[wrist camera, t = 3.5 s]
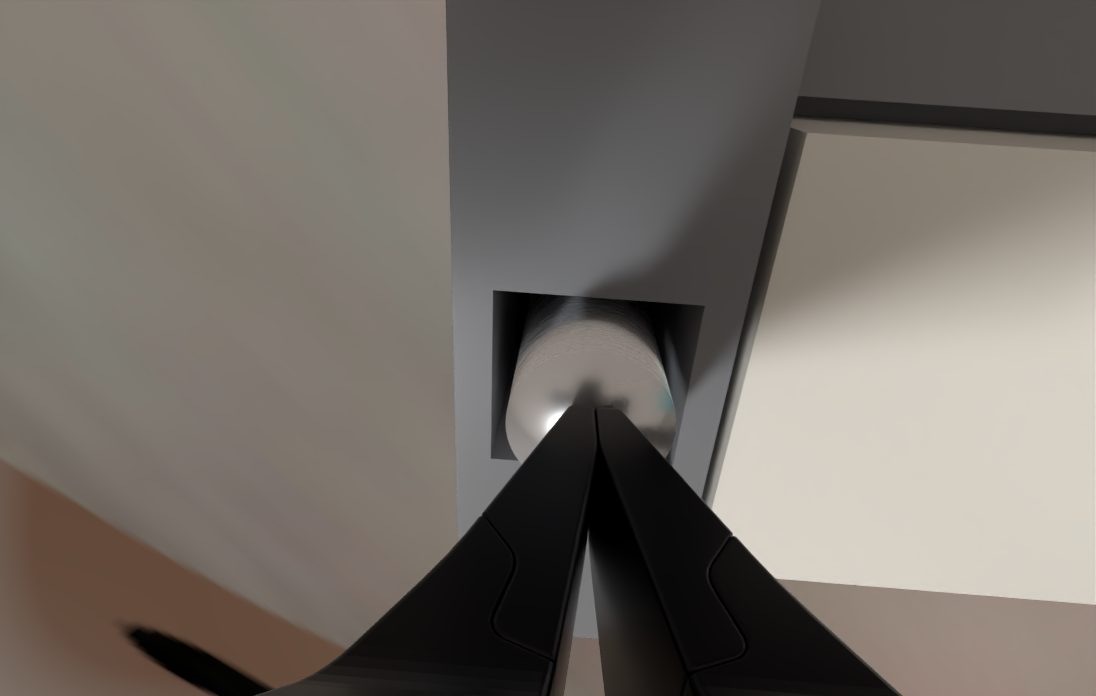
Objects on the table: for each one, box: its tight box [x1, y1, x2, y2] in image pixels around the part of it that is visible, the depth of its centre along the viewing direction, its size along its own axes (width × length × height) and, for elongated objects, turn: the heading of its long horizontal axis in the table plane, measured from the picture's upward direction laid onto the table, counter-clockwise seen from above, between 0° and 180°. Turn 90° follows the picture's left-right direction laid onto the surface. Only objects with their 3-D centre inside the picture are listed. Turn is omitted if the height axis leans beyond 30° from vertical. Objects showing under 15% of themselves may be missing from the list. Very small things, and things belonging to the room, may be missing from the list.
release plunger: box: [505, 293, 676, 464], centre depth 12 cm, size 3×3×6 cm
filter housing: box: [446, 0, 1096, 639], centre depth 12 cm, size 21×14×5 cm, turn 87°
